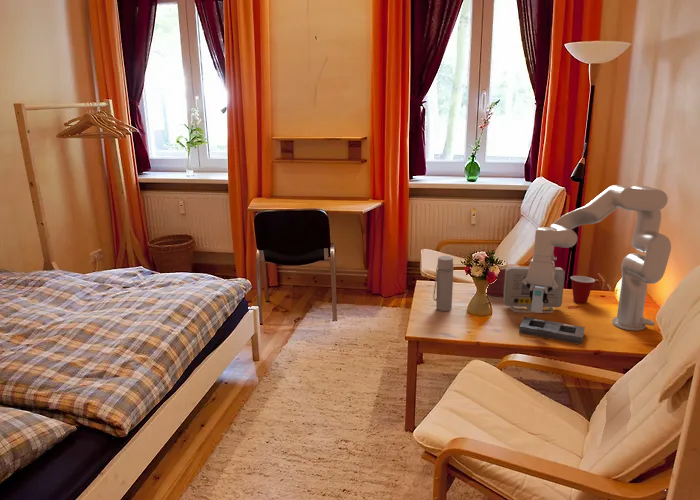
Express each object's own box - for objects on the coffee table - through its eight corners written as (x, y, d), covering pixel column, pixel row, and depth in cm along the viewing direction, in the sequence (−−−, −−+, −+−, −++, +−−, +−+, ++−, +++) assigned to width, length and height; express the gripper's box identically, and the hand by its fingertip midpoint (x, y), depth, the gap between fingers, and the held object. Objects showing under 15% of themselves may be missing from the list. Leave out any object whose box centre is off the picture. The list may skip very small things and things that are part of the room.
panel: (583, 333, 212) (584, 326, 211) (581, 344, 203) (582, 337, 202) (524, 323, 223) (524, 316, 223) (519, 332, 214) (519, 325, 213)
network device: (557, 306, 242) (561, 265, 236) (562, 313, 233) (567, 271, 228) (501, 304, 244) (504, 264, 239) (505, 312, 236) (508, 270, 230)
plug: (542, 309, 214) (545, 287, 211) (540, 313, 210) (543, 290, 207) (532, 308, 216) (535, 285, 213) (530, 311, 212) (533, 289, 209)
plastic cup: (593, 299, 248) (596, 276, 245) (590, 307, 239) (593, 283, 236) (569, 296, 254) (572, 273, 250) (566, 303, 245) (568, 279, 242)
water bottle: (446, 305, 245) (448, 255, 238) (454, 311, 238) (457, 259, 231) (429, 307, 242) (430, 257, 235) (437, 313, 235) (439, 261, 228)
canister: (487, 286, 269) (489, 254, 264) (512, 290, 263) (514, 257, 258) (479, 293, 258) (481, 260, 254) (505, 298, 252) (508, 264, 247)
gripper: (565, 258, 207) (560, 301, 212) (523, 252, 214) (519, 293, 219) (563, 263, 200) (558, 307, 205) (519, 257, 208) (515, 299, 213)
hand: (538, 299), depth 212 cm, fingers closed on plug, 4 cm apart
